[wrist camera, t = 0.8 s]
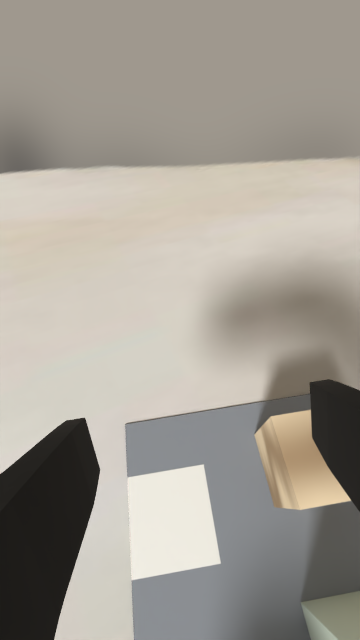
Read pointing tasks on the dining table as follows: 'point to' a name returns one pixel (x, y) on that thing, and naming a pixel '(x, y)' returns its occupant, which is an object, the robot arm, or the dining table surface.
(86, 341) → the dining table surface
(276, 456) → the maple block
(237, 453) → the slate mat
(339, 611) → the sage block
